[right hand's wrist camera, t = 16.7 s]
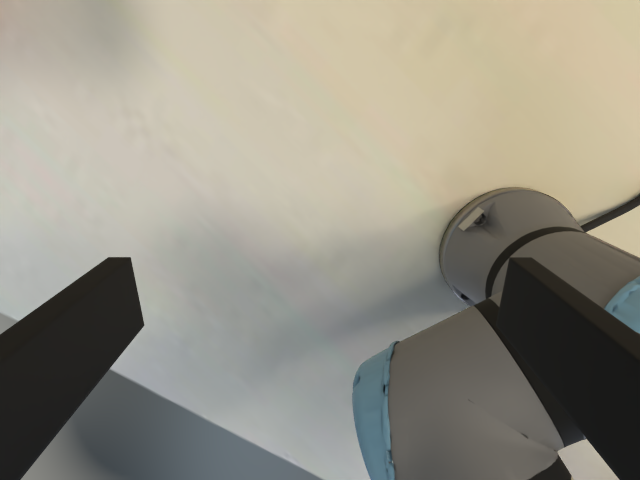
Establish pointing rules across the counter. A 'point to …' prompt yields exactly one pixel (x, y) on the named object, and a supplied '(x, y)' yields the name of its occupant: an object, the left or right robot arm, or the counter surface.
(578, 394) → the right robot arm
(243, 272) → the counter surface
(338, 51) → the counter surface
